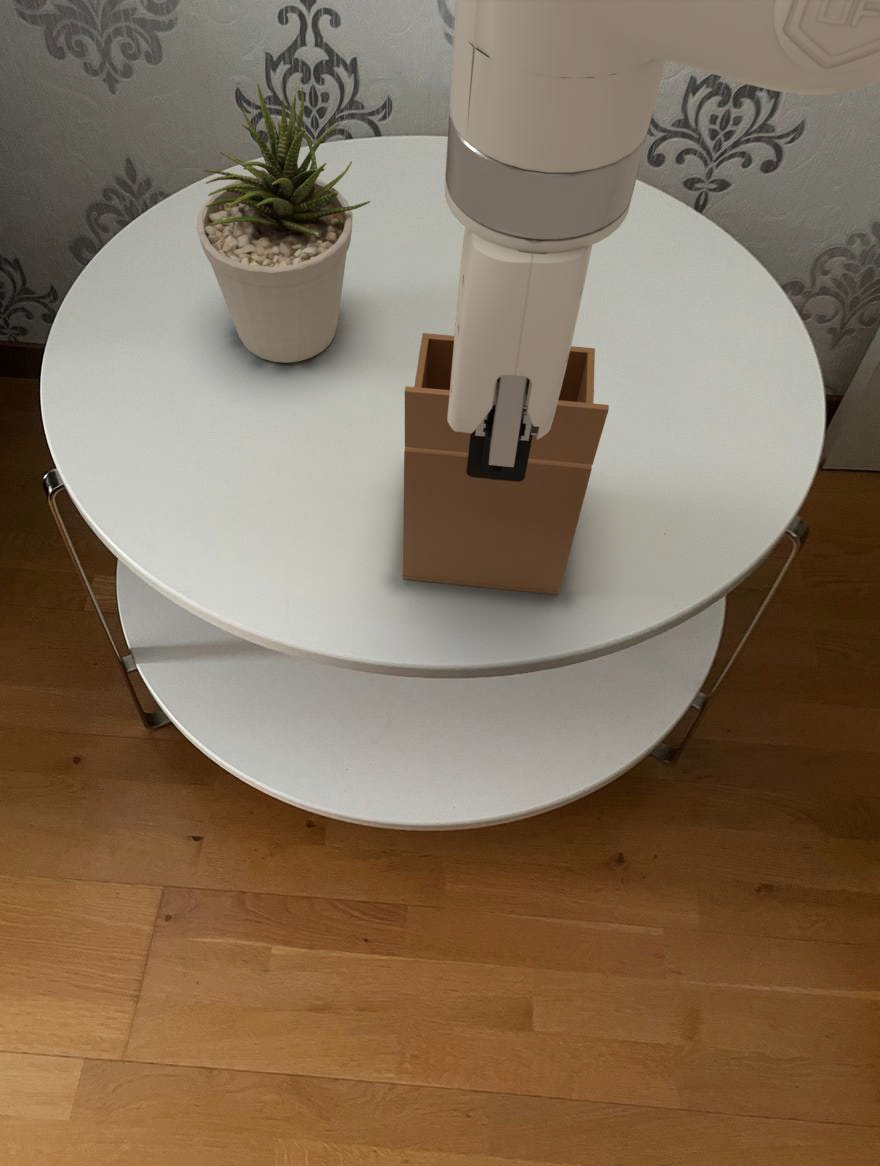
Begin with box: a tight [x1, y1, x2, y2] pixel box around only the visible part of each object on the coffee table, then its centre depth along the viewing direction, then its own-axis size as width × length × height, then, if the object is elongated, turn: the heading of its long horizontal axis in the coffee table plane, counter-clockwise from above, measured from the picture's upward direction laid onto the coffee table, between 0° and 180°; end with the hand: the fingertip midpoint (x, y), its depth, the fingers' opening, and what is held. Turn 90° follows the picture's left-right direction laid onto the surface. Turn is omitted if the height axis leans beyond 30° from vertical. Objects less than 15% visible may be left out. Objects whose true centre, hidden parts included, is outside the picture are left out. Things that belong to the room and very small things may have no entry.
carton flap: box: [404, 385, 610, 466], centre depth 60 cm, size 12×5×1 cm
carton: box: [402, 332, 596, 596], centre depth 72 cm, size 12×11×14 cm
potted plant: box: [196, 82, 371, 364], centre depth 81 cm, size 13×14×20 cm
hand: (495, 468), depth 54 cm, fingers closed
